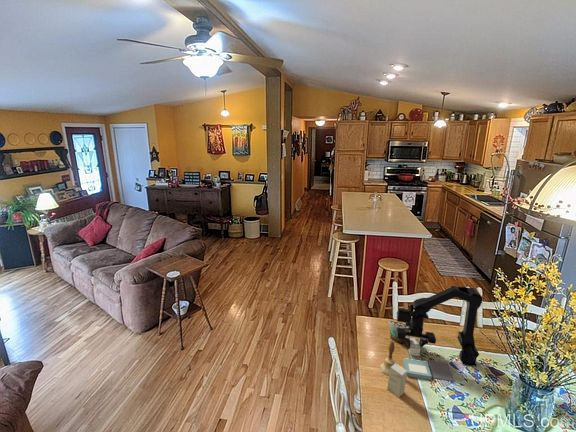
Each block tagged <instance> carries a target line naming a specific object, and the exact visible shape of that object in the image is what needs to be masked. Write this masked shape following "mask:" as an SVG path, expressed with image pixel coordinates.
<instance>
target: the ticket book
mask: <svg viewBox="0 0 576 432" xmlns="http://www.w3.org/2000/svg"><path fill="white" fill-rule="evenodd" d="M403 365H404V369H406V370H407V371H408V372H407V377H409V378H410V377H411V378H416V379H423V380H430V381H431V380H432V379H433V376H432V372H431V369H430V366H429V362H428V360H426V361H425V360H419V359H414V358H413V359H412V358H407V357H403Z"/></svg>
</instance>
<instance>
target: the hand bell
mask: <svg viewBox="0 0 576 432" xmlns="http://www.w3.org/2000/svg"><path fill="white" fill-rule="evenodd" d="M394 351H395V341H393V340H392V341H390V343H389V345H388V352H389V353H388V357H385V358H384V362H383V363H381V364H380V365H379V369H380V371H381V372H382V373H383V374H384V375H387V376H389V374H390V367H391V366H392V365H393V364H395V363H396V362H395V360H394V358H393V354H394Z"/></svg>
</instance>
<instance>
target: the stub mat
mask: <svg viewBox="0 0 576 432" xmlns="http://www.w3.org/2000/svg"><path fill="white" fill-rule="evenodd" d="M427 363H428V366H429V369H430V373H431V376H432V379H436V380H442V381H448V382H454V383H455V381H456V380H455V378H454V377H455V376H454V375H453V372H452V370H451V367H450V365H449V363H448V362H446V361H445V362H444V361H439V360H431V359H427Z"/></svg>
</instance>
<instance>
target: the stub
mask: <svg viewBox="0 0 576 432" xmlns="http://www.w3.org/2000/svg"><path fill="white" fill-rule="evenodd" d="M409 338H410V349H409V348H408V352H409V355H410V356H414V357H420V354H421V349H422V348H421V347H420V344H419V342H420V339H419V338H416V337H409ZM420 348H421V349H420Z"/></svg>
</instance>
